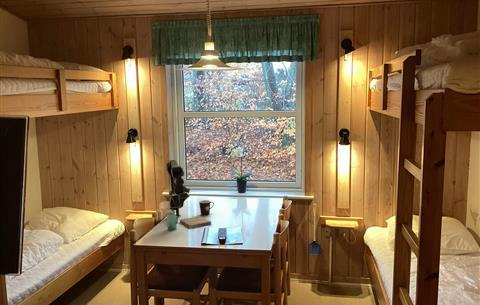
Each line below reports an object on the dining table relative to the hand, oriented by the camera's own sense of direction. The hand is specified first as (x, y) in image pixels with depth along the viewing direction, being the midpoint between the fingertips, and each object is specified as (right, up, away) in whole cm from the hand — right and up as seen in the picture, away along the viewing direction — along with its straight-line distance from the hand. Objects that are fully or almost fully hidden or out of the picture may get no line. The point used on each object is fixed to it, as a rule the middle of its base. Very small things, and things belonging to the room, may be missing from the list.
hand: (179, 206), depth 317 cm
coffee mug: (+18, -9, +24) cm, 31 cm away
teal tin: (-3, -14, -11) cm, 19 cm away
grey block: (-5, -13, +4) cm, 14 cm away
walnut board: (+11, -12, +1) cm, 17 cm away
